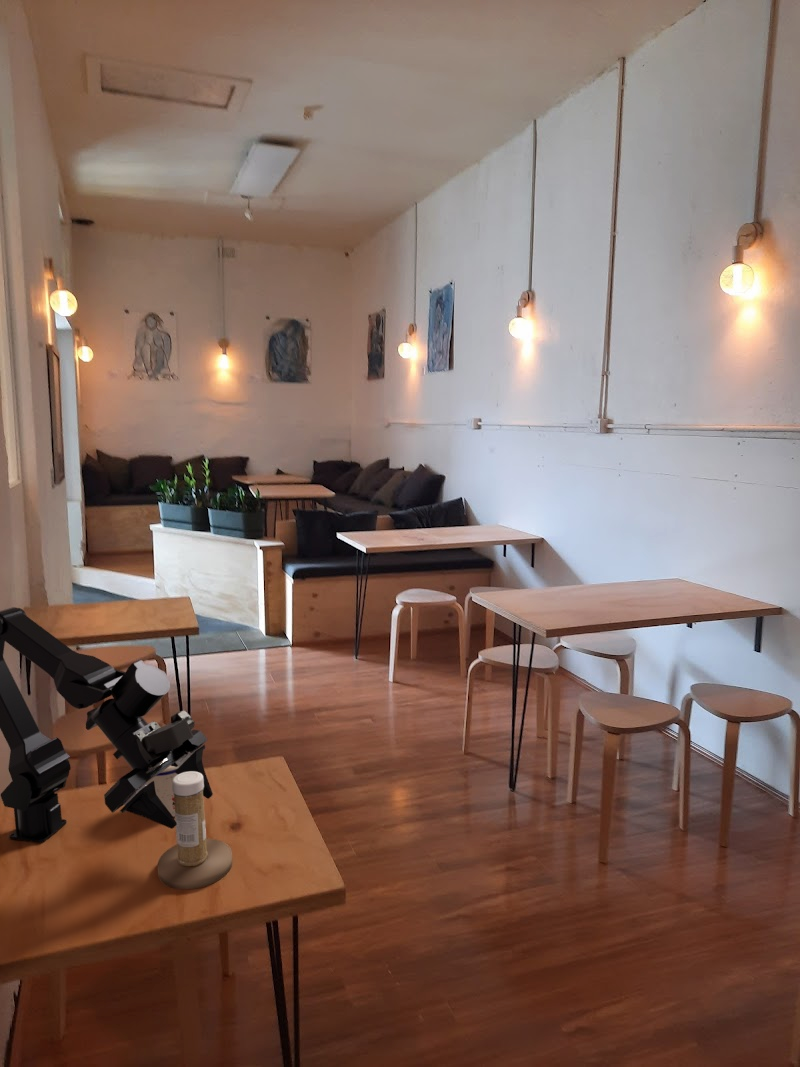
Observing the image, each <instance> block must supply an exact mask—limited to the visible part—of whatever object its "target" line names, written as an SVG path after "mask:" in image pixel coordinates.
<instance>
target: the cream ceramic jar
mask: <svg viewBox="0 0 800 1067" xmlns="http://www.w3.org/2000/svg"><path fill="white" fill-rule="evenodd" d="M178 768H179V766H178V767H174V766H171V765H170V766H169V767H168V768H166V769H165V770H163V771H162V772H160V773H159V774H158V775H156V776H155V777H153V778H152V779H151V780H149V781H148V782H146V783H147V784H149V783H151V782H152V781H154V783H155V791H156V795H157V796H158V797H159V799H160V800H161V801H162V803H163V804H164V805H165V807H166V808H167V809H168V811H169V812H170V813H171V815H172V816H173V818H175V799H174V792H173V787H172V780H173V778H174V777H175V776H176V775H178V774H176V773H175V771H176V770H177V769H178Z"/></svg>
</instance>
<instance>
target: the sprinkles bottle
mask: <svg viewBox="0 0 800 1067" xmlns="http://www.w3.org/2000/svg"><path fill="white" fill-rule="evenodd" d="M172 787H173V792H174V799H175V817H174V820H175V821H176V823H177V825H176V826H175V836H176V837H175V838H176V845H177V847H178V858H177V860H178V862H179V864H181V865H183V866H195V865H198V864H200V863H203V862H204V861H205V860H206V858H207V856H208V853H207V849H206V838H207V831H206V828H207V827H206V817H205V807H204V806H205V805H204V804H205V803H204V796H203V788H204V779H203V775H202V774H201V773H199V772H195V771H189V772H183V773H180V774H178V775H176V776H175V777H174V778H173V780H172Z"/></svg>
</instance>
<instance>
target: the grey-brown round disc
mask: <svg viewBox="0 0 800 1067" xmlns="http://www.w3.org/2000/svg"><path fill="white" fill-rule="evenodd" d="M206 849H207V853H208V856H207V858H206V860H205V861H204V862H203V863H200V864H198V865H195V866H183V865H181V864H179V862H178V860H177V858H178V847H177V844H175V845H173V846H171V847H170V848H168V849H167V850H166V851H164V853H162V854H161V856H160V857H159V859H158V862H157V874H158V875H157V876H158V878H159V881H160V882H161V883H162V884H163V885H164V886H167V887H169V888H172V889H176V890H194V889H195V890H196V889H201V888H204V887H207V886H210V885H213V884H215V883H217V882H218V881H220V880H221V879H223V878H224V877H225V876H226V875H227V874H229V872H230V871H231V869H232V867H233V866H232V865H233V854H232V853H233V852H232V849H231V847H230V845H228V844H227V843H226V842H224V841H222V840H219V839H214V838H207V837H206Z"/></svg>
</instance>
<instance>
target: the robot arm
mask: <svg viewBox="0 0 800 1067" xmlns="http://www.w3.org/2000/svg"><path fill="white" fill-rule="evenodd" d="M5 643H7V644H8V645H10V647H12V648H14V649H15V650H16V651H18V652H19V653H20V654H22V655H23V656H24V657H25V658H26V659H28V660H29V661H31V662H32V663H33V664H34V665H36V666H37V667H38V668H39V669H41V670H43V671H44V673H47V675H49V676H50V677H51V678H52V680H53V682H54V685H55V686H54V687H55V690H56V692H58V694H59V695H60V696H61V697H62V698H63V699H64V700H65V701H66V702H67V703H68V704H69V705H70V706H71V707H73V708H75V709H78V710H81V709H87V708H90V707H91V706H93V705H95V704H97V703H99V702H101V701H103V700H104V701H103V702H102V703H101V704H100V706H98V707H97V706H96V707H94V708H93V709H90V710H89V711H87V712H86V721H85V729H86V730H88V731H89V730H91V729H93V728H95V727H98V728H99V730H101V732H102V733H103V734H104V735H105V736H106V738H107V739H108V740H109V742H110V743H111V744H112V746H114V748H115V749H116V750H115V752H114V753H113V754H112V755H113V756H114V757H115V759H116V760H118V759H120V758H123V759H124V760H125V762H126V763H127V764H128V765H129V766H130V768H131V769H132V770H130V771H129V772H127V773H125V775H122V776H121V777H119V779H118V780H117V781H116V782H115V783H114V784H113V785H112V786H111V787H110V788H109V789H108V790H107V791H106V792H105V793H104V795H103V796H104V804H105V806H106V808H108V810H109V811H110V812H111V813H115V812H116V811H117V810H119V809H120V808H121V809H120V810H119V812H120V813H121V814H124V813H125V812H127V813H131V814H134V815H136V816H140V817H143V818H145V819H147V820H151V821H152V822H155V823H157V824H160V825H162V826H163V827H166V828H169V829H170V830H171V829H174V828H176V825H177V823H176V821H175V817H173V816H172V815H171V813H170V812H169V811H168V809H167V808H166V807H165V805H164V804H163V803H162V801H161V800H160V799H159V797H158V796H157V795H156V791H155V783H154V781H152V782H151V783H149V784H147V783H146V782H148V781H149V780H151V779H152V778H153V777H155V776H156V775H158V774H159V773H160V772H162V771H163V770H165V769H166V768H168V767H169V766H170V765H171V766H174V767H178V766H179V768H178V769H177V770H176V771H175V773H176V774H180V773H183V772H189V771H195V772H199V773H201V774H202V775H203V779H204V788H203V798H206V799H208V800H209V799H210V798H212V796H213V795H214V793H213V790H212V788H211V785H210V782H209V779H208V777H207V774H206V770H205V768H204V764H203V753H204V750H206V745H205V743H206V742H207V741H208V738H207V737H206V736H205V735H204V734H203V732H202V731H201V730H198V729H194V728H195V721H194V719H193V718H192V717H191V715H190V714H189V713H188V712H186V710H184V709H183V710H180V711H178V712H176V713H174V714H173V715H171V717H170V722H169V723H167V724H166V725H164V726H160V724H159V723H158V722H156V721H154V720H153V721H151V722H149V723H148V721H146V719H145V718H144V717H145V716H146V715H148V714H149V713H150V712H151V710H152V709H153V708H154V707H155V706H156V705H157V704H158V703H159V702H160V701H161V700H162V699H163V698H164V696H165V695H166V694H167V693H168V692H169V690H170V689H171V681H170V678H169V677H168V674H166V672H165V671H164V670H161V669H160V668H158V667H157V666H154V665H152V664H151V665H150V664H145V662H144V661H143V660H142V659H138V660H136V661H135V662H132V663H131V664H130V665H129V666H128V667H127V669H126V671H123V670H121V669H117V668H114V667H113V666H112V665H111V664H109V663H107V662H106V661H104V660H103V659H100V658H98V657H96V656H94V655H89V654H85V653H79V652H77V651H75V650H74V649H72V648H70V647H68V645H66V644H65V643H63V642H62V641H61V640H59V639H58V638H56V636H55V635H53V634H51V633H50V632H49V631H47V630H46V629H45V628H43V626H41V625H39V624H38V623H37V622H35V621H34V620H32V619H31V618H30V617H29V616H28V615H27V613H26V612H25V610H24V609H22V608H20V607H14V606H13V607H9V608H5V609H2V610H0V732H1V733H2V735H3V737H4V738H5V740H6V743H7V745H8V747H9V749H10V751H9V759H8V760H9V762H8V772H9V775H10V779H11V782H10V783H9V784H8V785H7V786H6V787H5V789H4V790H2V792H1V793H0V797H1V801H2V804H3V805H4V807H6V808H11V809H13V814H14V815H13V816H14V824H15V826H14V827H15V830H14V831H13V832H11V833H10V834H9V836H8V837H9V838H8V839H10V840H18V841H24V842H32V843H43V842H45V841H46V840H48V839H49V838H50V837H52V836H53V834H56V833H57V832H58V831H59V830H60V829H61V828H63V827H64V826H65V825H66V824H67V819H63V818H62V809H61V808H62V806H61V805H62V804H61V803H60V802H59V796H58V795H59V794H58V791H59V790H61V789H62V790H63V788H65V787H66V784H67V780H68V778H69V775H70V771H71V768H72V767H71V763H70V760H69V759H71V757H70V755H69V754H68V753H67V752H66V749H65V748H64V745H63V742H62V740H61V739H60V738H59V737H54V738H52V739H51V738H49V737H48V736H46V735H45V734H43V733H42V732H41V731H40V728H39V726H38V724H37V722H36V720H35V718H34V716H33V714H32V712H31V710H30V708H29V707H28V705H27V703H26V700H25V699H24V696H23V694H22V693H21V691H20V688H19V687H18V685H17V682H16V681H15V678H14V676H13V674H12V673H11V670H10V668H9V667H8V664H7V663H6V662H7V661H6V660H5V658H4V652H5V646H6V644H5ZM110 697H112V698H110ZM107 698H109V699H107ZM105 699H106V700H105Z"/></svg>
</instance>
